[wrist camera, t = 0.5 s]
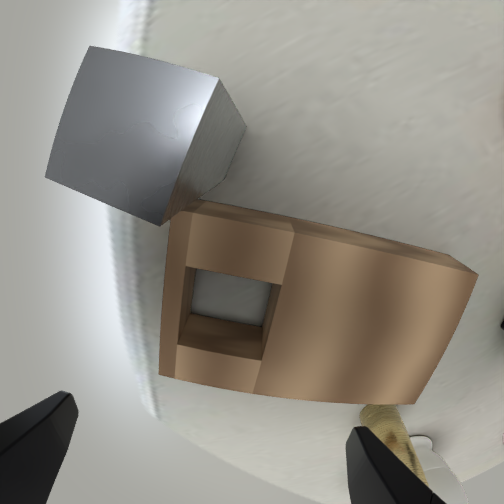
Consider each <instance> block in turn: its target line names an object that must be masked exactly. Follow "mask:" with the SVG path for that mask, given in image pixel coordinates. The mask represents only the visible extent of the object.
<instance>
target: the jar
mask: <svg viewBox="0 0 504 504" xmlns="http://www.w3.org/2000/svg"><path fill="white" fill-rule="evenodd" d="M410 440H411V442H412V445H413V447H414V449H415V452H416V454H417V457H418V459H419V462H420V464H421V467H422V469H423V472H424V474H425V477H426V479H427V482H428V485H429V488H430V489H431V490H432V491H433V493H435V494H437V495H438V496H439V497H440V498H441V499H442V500H443V501H444V502H445V503H447V504H469V503H468V500H467V496H466V493H465V491H464V489H463V487H462V485H461V483H460V481H459V480H458V478H457V477H456V476H455V474H454V473H453V472H452V471H451V470H450V468H449V466H448V465H447V463H446V462H445V461H444V460H443V458H441V457H440V456H439V455H438V454H437V453H435V452H433V451H432V441H431V440H430V439H429V438H428V437H424V436H414V437H410Z"/></svg>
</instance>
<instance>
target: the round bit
mask: <svg viewBox="0 0 504 504" xmlns="http://www.w3.org/2000/svg"><path fill="white" fill-rule="evenodd" d="M360 420H361V424H362V426H366V427H368V428H369V429H370V430H371V431H372V432H373V433H374V434H375V435H376V436H377V437H378V438H379V439H380V440H381V441H382V442H383V443H384V444H385V445H386V446H387V447H388V448H389V449H390V450H391V451H392V452H393V453H394V454H395V455H396V456H397V457H398V458H399V459H400V460H401V461H402V462H403V463H404V464H405V465H406V466H407V467H408V468H409V469H410V470H411V471H412V472H413V473H414V474H415V475H416V476H418V477H419V478H420V479H421V480H422V481H423V482H424V483H425V484H426V485H427V486H428V487H429V485H428V482H427V479H426V477H425V474H424V472H423V469H422V467H421V464H420V462H419V459H418V457H417V454H416V452H415V449H414V447H413V445H412V442H411V440H410V437H409V435H408V433H407V430H406V428H405V426H404V423H403V421H402V419H401V416H400V414H399V412H398V410H397V407H396V405H388V404H368V405H367V406H366V407H364V409H363V410H362V411H361V413H360Z"/></svg>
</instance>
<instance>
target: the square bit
mask: <svg viewBox="0 0 504 504" xmlns="http://www.w3.org/2000/svg"><path fill="white" fill-rule="evenodd" d="M246 127H247V126H246V124H245V123H244V121H243V119H242V117H241V115H240V114H239V112H238V110H237V108H236V107H235V105H234V103H233V101H232V99H231V98H230V96H229V94H228V92H227V91H226V89H225V87H224V86H223V84H222V82H221V80H220V79H219V78H217V77H214V76H211V75H208V74H205V73H202V72H199V71H195V70H192V69H189V68H185V67H182V66H178V65H175V64H171V63H168V62H164V61H160V60H156V59H152V58H148V57H144V56H139V55H135V54H131V53H126V52H121V51H116V50H111V49H105V48H100V47H94V46H89V48H88V50H87V53H86V55H85V57H84V59H83V62H82V64H81V66H80V69H79V71H78V73H77V76H76V78H75V81H74V84H73V86H72V89H71V91H70V94H69V96H68V99H67V102H66V105H65V108H64V111H63V114H62V117H61V120H60V123H59V126H58V129H57V133H56V136H55V140H54V143H53V147H52V150H51V154H50V158H49V162H48V166H47V170H46V175H45V177H46V178H48V179H50V180H52V181H55V182H57V183H59V184H62V185H64V186H66V187H69V188H71V189H73V190H76V191H78V192H80V193H83V194H85V195H87V196H90V197H92V198H94V199H97V200H99V201H101V202H103V203H106V204H108V205H110V206H113V207H115V208H118V209H120V210H122V211H125V212H127V213H129V214H132V215H134V216H136V217H139V218H141V219H143V220H146V221H148V222H151V223H153V224H155V225H158V226H161V225H163V224H164V223H165V222H167V221H168V220H169V219H171V218H172V217H173V216H175V215H176V214H177V213H179V212H180V211H181V210H183V209H184V208H185V207H187V206H188V205H189V204H191V203H192V202H194V201H195V200H196V199H198V198H199V197H200V196H202V195H203V194H205V193H206V192H207V191H209V190H210V189H212V188H213V187H214V186H216V185H217V184H219V183H220V182H222V181H223V180H224V178H225V176H226V174H227V171H228V169H229V166H230V164H231V162H232V159H233V157H234V155H235V152H236V150H237V148H238V145H239V143H240V141H241V138H242V136H243V134H244V132H245V129H246Z"/></svg>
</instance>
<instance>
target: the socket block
mask: <svg viewBox="0 0 504 504" xmlns="http://www.w3.org/2000/svg"><path fill="white" fill-rule="evenodd" d="M196 268H198V269H203V270H208V271H213V272H218V273H223V274H228V275H233V276H238V277H243V278H249V279H254V280H259V281H264V282H270V283H273V284H272V288H271V292H270V296H269V300H268V304H267V309H266V313H265V317H264V321H263V325H262V327H258V326H253V325H247V324H242V323H237V322H231V321H226V320H221V319H216V318H211V317H206V316H201V315H197V314H192V313H190V312H191V303H192V296H193V288H194V280H195V273H196ZM477 278H478V274H477V273H475V272H474V271H472V270H471V269H469V268H468V267H466V266H465V265H463V264H462V263H460V262H459V261H457V260H456V259H454V258H453V257H451V256H450V255H447V254H443V253H439V252H435V251H432V250H428V249H424V248H420V247H416V246H412V245H408V244H404V243H400V242H396V241H392V240H388V239H384V238H380V237H376V236H372V235H367V234H363V233H359V232H355V231H350V230H346V229H342V228H337V227H333V226H328V225H324V224H319V223H315V222H310V221H305V220H301V219H296V218H291V217H287V216H282V215H277V214H272V213H267V212H262V211H257V210H252V209H247V208H242V207H237V206H231V205H226V204H221V203H215V202H210V201H204V200H199V199H196V200H195V201H194V202H192V203H191V204H189V205H188V206H187V207H185V208H184V209H183V210H181V211H180V212H179V213H177V214H176V215H175V216H173V217H172V218H171V222H170V230H169V239H168V247H167V257H166V267H165V277H164V288H163V301H162V315H161V331H160V351H159V375H163V376H167V377H171V378H175V379H179V380H183V381H188V382H192V383H197V384H202V385H207V386H212V387H217V388H222V389H228V390H233V391H239V392H245V393H251V394H258V395H265V396H272V397H280V398H289V399H298V400H308V401H319V402H333V403H350V404H388V405H395V404H415V402H416V401H417V399H418V397H419V396H420V394H421V393H422V391H423V389H424V388H425V386H426V384H427V383H428V381H429V379H430V377H431V376H432V374H433V372H434V370H435V369H436V367H437V365H438V363H439V361H440V359H441V358H442V356H443V354H444V352H445V350H446V348H447V346H448V344H449V342H450V340H451V338H452V336H453V334H454V332H455V330H456V328H457V326H458V323H459V321H460V319H461V317H462V315H463V312H464V310H465V308H466V305H467V303H468V301H469V298H470V296H471V293H472V291H473V288H474V286H475V283H476V280H477Z"/></svg>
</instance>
